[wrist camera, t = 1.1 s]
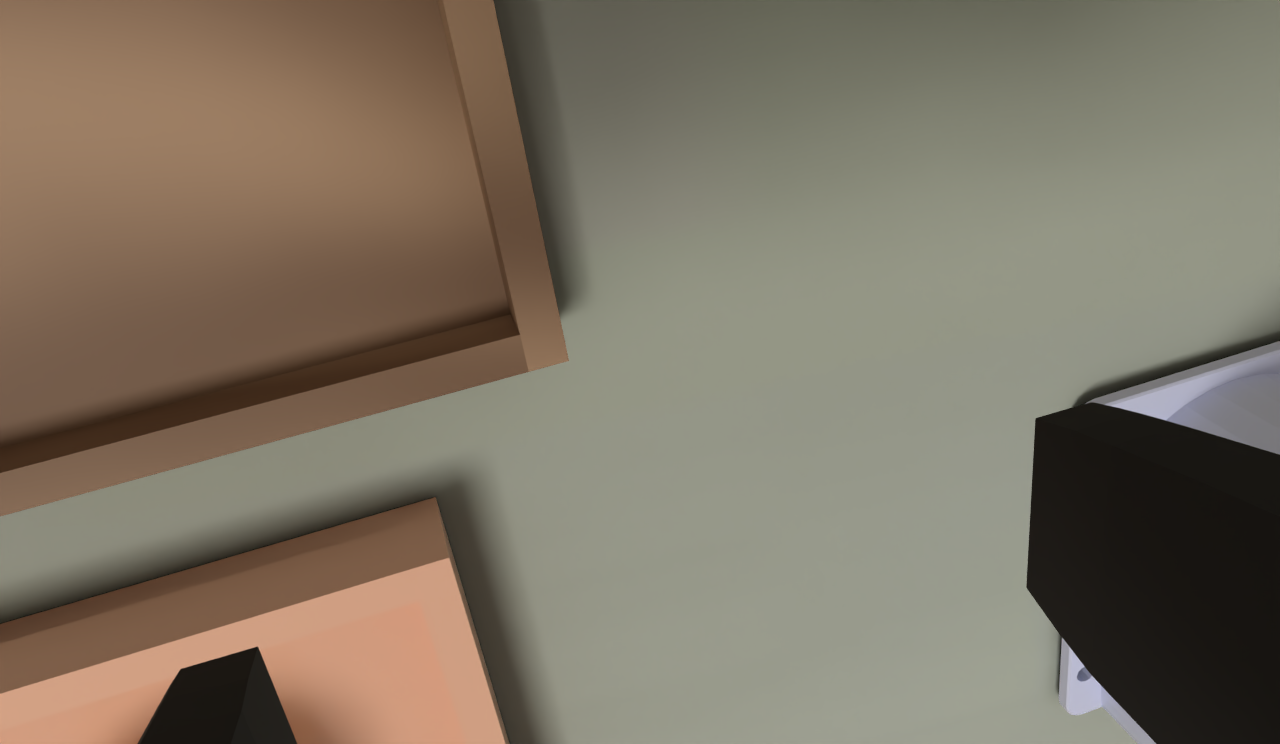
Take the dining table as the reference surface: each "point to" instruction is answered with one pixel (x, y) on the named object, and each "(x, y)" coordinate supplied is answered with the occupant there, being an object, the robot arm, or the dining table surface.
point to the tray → (251, 227)
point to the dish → (271, 642)
